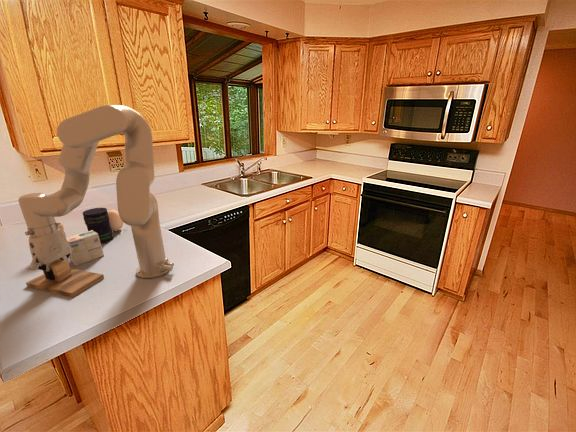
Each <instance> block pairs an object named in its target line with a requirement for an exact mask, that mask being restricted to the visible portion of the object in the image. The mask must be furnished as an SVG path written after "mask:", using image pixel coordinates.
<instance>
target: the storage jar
mask: <svg viewBox="0 0 576 432" xmlns="http://www.w3.org/2000/svg"><path fill="white" fill-rule="evenodd" d="M82 216H83V220H84V225H85V226H86V228H87V231H91V230H93V231H95V232H96V233H98V236H99V239H100V243H101V245H103V244H107V243H110V242H111V241H114V239H115V237H114V231H112V228H111V226H110V222H109V219H110V218H109V215H108V209H107V208H106V207H94V208H89V209H87V210H83V212H82Z"/></svg>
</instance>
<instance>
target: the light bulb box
mask: <svg viewBox="0 0 576 432" xmlns="http://www.w3.org/2000/svg"><path fill="white" fill-rule="evenodd" d="M66 239H67V241H68V244H69V246H70V247H71V248H73V251H72V253H71V254H70V256H69V258H70V260H71V262H72V264H74V266H78V265H83V264H84V263H88V262H90V261H93V260H97V259H99V258H102V257H104V256H105V255H104V250H103V247H102V244H101V243H100V239H99V236H98V233H96V232H95V231H93V230H91V231H88V230H87V231H85V232H81V233H78V234H74V235H71V236H66Z"/></svg>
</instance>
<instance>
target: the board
mask: <svg viewBox="0 0 576 432" xmlns="http://www.w3.org/2000/svg"><path fill="white" fill-rule="evenodd" d="M70 270H71V273H72V276H70V277H68V278H66V279H65V280H63V281H61V282H58V281H53V280H48V279H45V276H44V273H42V274H41V275H39V276H37V277H34V278H33V279H30V280H28V281H27V282H25V284H26V287H28V288H32V289H36V290H40V291H45V292H49V293H53V294H59V295H62V296H67V297H72V298H75V297H76V296H78V295H79V294H81V293H82V292H84V291H86V290H87V289H89V288H91V287H93V285H96V284H98V283H99V282H101V281H102V280H104V279H105V276H104V274H102V273H98V272H92V271H88V270H87V271H86V270H82V269H77V268H72V267H70Z"/></svg>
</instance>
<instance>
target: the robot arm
mask: <svg viewBox="0 0 576 432" xmlns="http://www.w3.org/2000/svg"><path fill="white" fill-rule="evenodd" d="M122 134H123V135H124V140H125V141H124V159H125V162H124V166H123V167H122V168H121V169H120V170H119V171H118V173H117V175H116V179H115V181H116V182H115V188H116V202H117V212H118V213H119V216H120V218H121V220H122V221H123V224H125V225H127V226H129V227H130V228H131V233H132V238H133V242H134V243H133V244H134V248H135V251H136V256H137V257H136V258H137V261H138V267H137V268H136V269H135V273H136V276H137V277H139V278H141V279H154V278H157V277H161V276H163V275H165V274H167V273H168V272H171V271H173V268H174V266H175V263H174V262H171V261H170V260H169V258H168V257H166V252H165V245H164V240H163V236H162V229H161V222H160V214H159V205H158V201H157V198H156V197H155V195H154V194H153V193H151V192H150V186H152V184H153V183H154V181H155V165H154V163H155V162H154V161H155V160H154V147H153V146H154V145H153V143H154V142H153V134H152V129H151V126H150V124H149V122H148V121H147V120H146V118H145V117H144V116H143V115H142V114H140V112H138V111H137V110H135V109H133V108H131V107H129V106H126V105H122V104H104V105H101V106H97V107H96V108H92V109H90V110H87V111H85V112H82V113H79V114H76V115H74V116H70V117H68V118H67V117H66V118H65V119H63V120H62V121H61V122H60V123H59V124H58V125H57V128H56V135H57V137H58V140H59V141H60V142H61V143H62V147H61V150H60V153H59V156H58V159H57V162H58V164H59V165H60V167H62V168H63V170H64V179H63V182H62V185H61V188H60V189H59V190H57V191H55V192H53V193H51V194H48V195H47V194H46V193H43V192H33V193H32V192H31V193H25V194H23V195H20V197H18V204H19V207H20V210H21V212H22V215H23V219H24V221H25V225H26V227H27V228H26V229H27V231H25V232H24V235H26V236H27V237H28V245H29V246H28V247H29V250H30V255H31V258H32V259H31V262H30V265H29V269H34V270H40V271H42V272H43V271H44V273H43V274H45V277H46V278H47V279H49V280H55V277H54V274H53V271H52V270H50V263H51V262H53V261H56V260H58V259H59V260H65V261H68V262H69V258H70V254H71V253H72V251H73V248H71V247H70V246H69V244H68V241H67V239H66V237H67V236H66V237H65V235H64V233H63V232H62V230H61V229H60V228H57V224H56V222H57V220H56V217H57V218H58V217H59V218H61V217H65V216H66V215H68V214H69V213H71V212H72V211H74V209H76V208H78V207H79V206H80V205H81V204H82V203H83V201H84V199H85V195H86V193H87V190H88V188H89V183H90V177H91V173H90V169H91V166H92V163H93V160H94V158H95V155H96V151H97V149H98V146H99V143H100V141H103V140H106V139H110V138H112V137H114V136H117V135H122Z"/></svg>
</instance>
